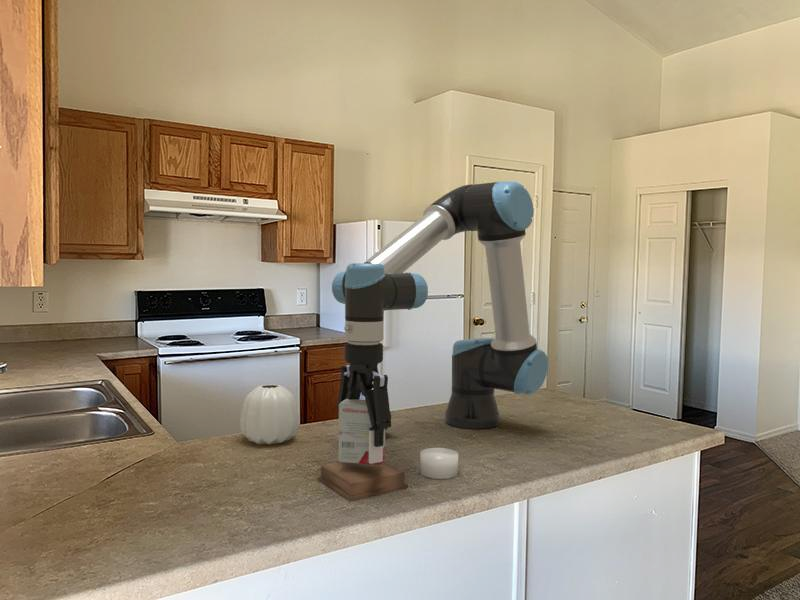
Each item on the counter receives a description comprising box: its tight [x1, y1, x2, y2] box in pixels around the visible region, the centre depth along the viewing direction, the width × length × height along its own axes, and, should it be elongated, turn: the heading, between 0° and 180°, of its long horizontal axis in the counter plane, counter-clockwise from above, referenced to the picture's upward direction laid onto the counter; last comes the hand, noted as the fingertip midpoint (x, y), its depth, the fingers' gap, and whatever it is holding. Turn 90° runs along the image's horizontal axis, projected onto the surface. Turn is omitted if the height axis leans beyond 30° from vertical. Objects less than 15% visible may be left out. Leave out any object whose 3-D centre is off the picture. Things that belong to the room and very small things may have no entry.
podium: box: [317, 460, 409, 502], centre depth 122 cm, size 13×13×3 cm
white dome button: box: [419, 447, 459, 480], centre depth 129 cm, size 8×8×4 cm
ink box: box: [338, 399, 386, 465], centre depth 121 cm, size 9×5×12 cm, turn 78°
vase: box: [239, 383, 300, 445], centre depth 150 cm, size 14×14×13 cm
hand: (362, 455), depth 122 cm, fingers closed on ink box, 9 cm apart
